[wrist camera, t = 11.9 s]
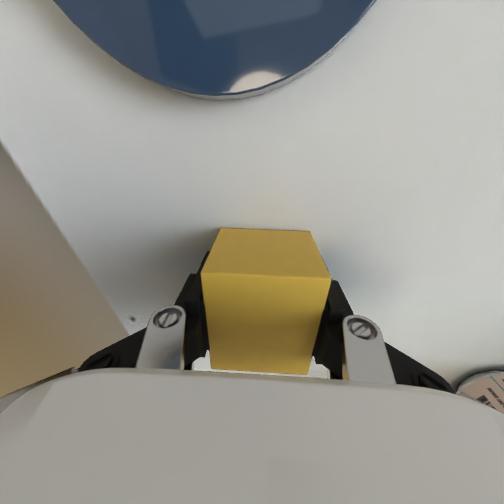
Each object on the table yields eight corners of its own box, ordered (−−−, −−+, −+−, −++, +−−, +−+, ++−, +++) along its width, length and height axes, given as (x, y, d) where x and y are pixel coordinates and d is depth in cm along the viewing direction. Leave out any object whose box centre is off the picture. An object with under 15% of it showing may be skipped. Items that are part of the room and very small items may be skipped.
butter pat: (224, 308, 14) (210, 369, 10) (220, 227, 11) (199, 272, 7) (296, 312, 13) (307, 375, 10) (310, 230, 11) (332, 278, 7)
